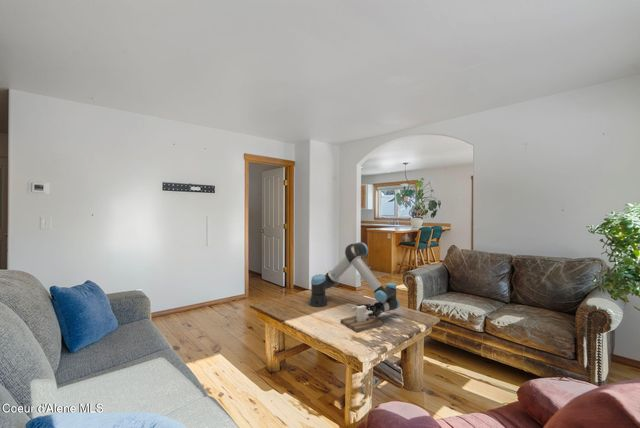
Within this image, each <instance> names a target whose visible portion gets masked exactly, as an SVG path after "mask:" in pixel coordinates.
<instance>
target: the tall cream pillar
mask: <svg viewBox="0 0 640 428" xmlns="http://www.w3.org/2000/svg"><path fill="white" fill-rule="evenodd" d="M364 313H367V310H366V306H364V305H363V306H358V307H357V311H356V315H357V323H361V322H365V321H366V318H364Z"/></svg>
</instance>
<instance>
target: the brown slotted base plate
mask: <svg viewBox="0 0 640 428" xmlns="http://www.w3.org/2000/svg"><path fill="white" fill-rule="evenodd" d="M340 324H341V325H343V326H345V327H347V328H348V329H349V330H351V331H353V332H355V333H360V332H364V331H368V330H371V329H376V328H377V327H381V326H383V321H382V320H380V319H378V318H377V317H375V316H371V317H367V318H366V321H365V322H361V323H357V314H356V315H352V316H349V317H344V318H341V319H340Z"/></svg>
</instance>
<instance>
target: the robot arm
mask: <svg viewBox="0 0 640 428" xmlns="http://www.w3.org/2000/svg"><path fill="white" fill-rule="evenodd" d="M368 253H369V247H368V245H367V244H366V243H365V242H360V241H359V242H356V243H354V242H353V243H350V244H348V245H347V246H346V247H345V249H344V255H345V256H344V257H343V258H342V259H340V260H341V261H339V262H338V263H337V265H335V266H334V267H333V268H332V269H331V270H328V272H327V273H326V274H323V273H321V274H315V275H313V276H312V277H311V281H310V283H311V289H310V290H311V293H310V294H311V295H310V299H309V301H308V304H309V306H310V307H315V308H322V307H326V306H328V304H329V302H328V298H327V294H326V290H328V289H332V288H335V287H336V286H338V284H339V282H340V278H341V276H343V275H344V273H346V271H348V270H349V268H350V267H352V266H353V267H354V268H355V270H357V272H358V273H359V275H360V276H361V277H362V279H363V280H364V281H365V283H366V284H367V285H368V287H369V288H370V289H371V290H372V292H373V293H374V298H375V301H376V302H375V303H374V304H371V303H366V304H365V303H362V304H359V303H358V304H357V305H356V306H352V307H351V308H350V312H351V313H352V312H357V307H358V306H363V305H364V306H366V311H369V312H366V313H364V318H367V317H371V316H372V317H374V318H378V317H379V316H380V315H381V314H383V313H386V312H390V311H395V310H397V309H399V308H400V305H401V304H400V301H399V299H398V298H397V284H396V283H394V282H386V283H385V287H384V286H383V284H381V282H380V281H379V280H378V279H377V277H376V276H375V275H374V273H373V272H372V271H371V269H370V268H369V267H368V266H367V264H366V263H365V262H364V260H363V259H362V258H365V257H367V255H368Z"/></svg>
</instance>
